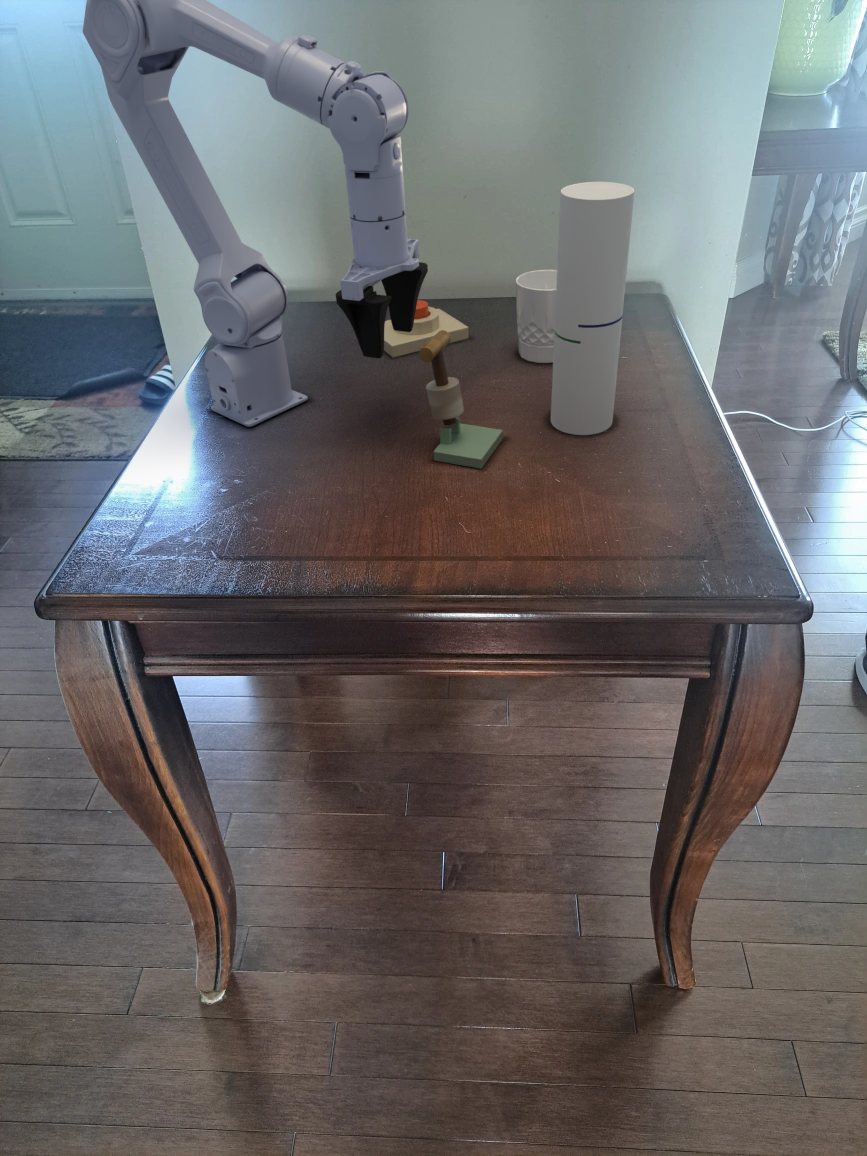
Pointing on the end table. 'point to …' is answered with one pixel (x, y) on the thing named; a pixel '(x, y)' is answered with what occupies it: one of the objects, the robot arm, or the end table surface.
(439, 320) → the button box
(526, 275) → the white cup
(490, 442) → the stand
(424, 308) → the call button
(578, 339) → the cylindrical container
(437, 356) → the t-handle lever
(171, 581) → the end table surface
